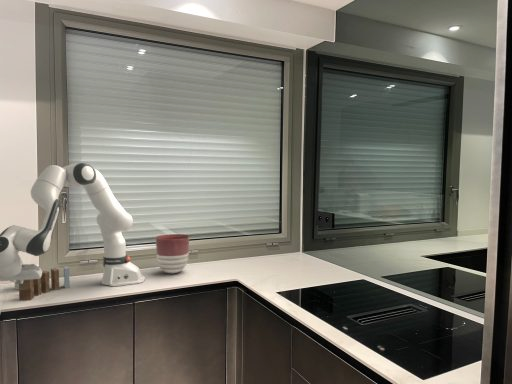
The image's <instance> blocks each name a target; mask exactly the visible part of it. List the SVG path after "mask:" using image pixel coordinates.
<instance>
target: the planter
mask: <svg viewBox="0 0 512 384" xmlns="http://www.w3.org/2000/svg"><path fill="white" fill-rule="evenodd" d="M155 248H156V250H155V251H156V259H157V260H156V261H157V263H158V264H157V265H158V266H159V268H160V270H162V271H163V272H164V273H167V274H177V273H179V272H180V273H181V271H183V270H184V269H185V268H186V266H187V264H188V261H189V254H190V253H189V252H190V251H189V249H190V236H189V235H187V234H179V233H178V234H177V233H174V234H173V233H171V234H163V235H162V234H161V235H157V236H156V237H155Z"/></svg>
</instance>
